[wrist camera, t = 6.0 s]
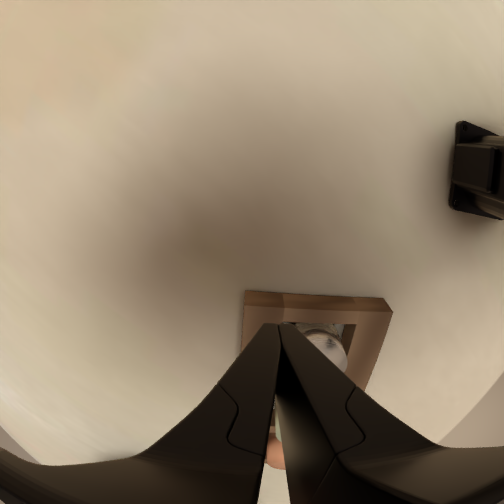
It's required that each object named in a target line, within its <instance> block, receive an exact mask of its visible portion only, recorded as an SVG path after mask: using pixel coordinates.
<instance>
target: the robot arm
mask: <svg viewBox="0 0 504 504" xmlns="http://www.w3.org/2000/svg"><path fill="white" fill-rule="evenodd" d="M463 126H464V130H463ZM455 200H456V205H454V202H455ZM449 206H450V208H452V209H454V210H457V211H462V212H467V213H472V214H476V215H481V216H485V217H489V218H494V219H498V220H504V136H499V135H496V134H494V133H492V132H490V131H488V130H485V129H483V128H481V127H478V126H476V125H474V124H471V123H469V122H466V121H459V122H458V124H457V134H456V147H455V157H454V166H453V175H452V184H451V191H450V197H449ZM274 399H276V406H277V413H278V420H279V427H280V434H281V441H282V448H283V455H284V462H285V469H286V476H287V483H288V490H289V497H290V504H504V446H500V447H483V448H450V447H444V446H441V445H438V444H436V443H433V442H432V441H430V440H428V439H427V438H425V437H424V436H422V435H421V434H419V433H418V432H416V431H415V430H414V429H412V428H411V427H409V426H408V425H406V424H405V423H403V422H402V421H401V420H399V419H398V418H396V417H395V416H394V415H392V414H391V413H390V412H388V411H387V410H386V409H384V408H383V407H382V406H380V405H379V404H378V403H377V402H376V401H374V400H373V399H372V398H371V397H370V396H369V395H367V394H366V393H365V392H364V391H363V390H362V389H361V388H360V387H359V386H357V385H356V384H355V383H354V382H353V381H352V380H351V379H350V378H349V377H348V376H347V375H346V374H345V373H344V372H342V371H341V370H340V369H339V368H338V367H337V366H336V365H335V364H334V363H333V362H332V361H331V360H330V359H329V358H328V357H326V356H325V355H324V354H323V353H322V352H321V351H320V350H319V349H318V348H317V347H316V346H315V345H314V344H313V343H312V342H311V341H310V340H309V339H308V338H306V337H305V336H304V335H303V334H302V333H301V332H300V331H299V330H298V329H297V328H296V327H295V326H294V325H293V324H284V323H280V324H278V325H277V324H276V323H263V324H262V326H261V327H260V328H259V330H258V331H257V332H256V334H255V335H254V336H253V338H252V339H251V340H250V341H249V343H248V344H247V345H246V347H245V348H244V349H243V351H242V352H241V353H240V355H239V356H238V357H237V358H236V360H235V361H234V362H233V364H232V365H231V366H230V367H229V369H228V370H227V371H226V373H225V374H224V375H223V376H222V378H221V379H220V380H219V381H218V383H217V384H216V385H215V386H214V388H213V389H212V390H211V391H210V393H209V394H208V395H207V396H206V397H205V398H204V399H203V400H202V402H201V403H200V404H199V405H198V406H197V407H196V408H195V409H194V410H193V411H192V412H190V413H189V414H188V415H187V416H186V417H185V418H184V419H183V420H182V421H180V422H179V423H178V424H177V425H176V426H175V427H173V428H172V429H171V430H170V431H169V432H168V433H166V434H165V435H164V436H163V437H162V438H160V439H159V440H158V441H157V442H156V443H154V444H153V445H152V446H150V447H149V448H148V449H146V450H145V451H143V452H141V453H139V454H137V455H135V456H132V457H129V458H124V459H117V460H111V461H103V462H95V463H86V464H76V465H62V466H48V465H41V464H35V463H32V462H28V461H26V460H23V459H21V458H19V457H17V456H16V455H14V454H12V453H10V452H9V451H7V450H5V449H3V448H1V447H0V500H1V501H3V502H4V503H5V504H257V502H258V497H259V491H260V485H261V479H262V473H263V468H264V462H265V456H266V450H267V444H268V438H269V432H270V426H271V419H272V413H273V406H274Z"/></svg>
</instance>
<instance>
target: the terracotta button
mask: <svg viewBox="0 0 504 504" xmlns="http://www.w3.org/2000/svg"><path fill="white" fill-rule="evenodd" d="M267 463H268V465H270V466H271V467H273V468H276V469H283V470H286V469H285V462H284V455H283V448H282V442H280V441H279V440H278V439H277V437H276V433H269V438H268V444H267Z"/></svg>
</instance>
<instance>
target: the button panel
mask: <svg viewBox="0 0 504 504" xmlns="http://www.w3.org/2000/svg"><path fill="white" fill-rule="evenodd" d="M392 314H393V311H392V310H391V308H390V307H389V305H388V304H387V303H386V301H385V300H384V299H383V298H362V297H339V296H319V295H301V294H285V293H270V292H256V291H246V292H245V302H244V315H243V329H242V343H241V352H242V351H243V349H244V348H245V347H246V345H247V344H248V343H249V341H250V340H251V339H252V338H253V336H254V335H255V334H256V332H257V331H258V330H259V328H260V327H261V326H262V324H263V323H276V324H277V325H278V324H280V323H283V322H301V323H327V324H345V328H344V332H343V336H342V339H341V343H342V346H343V348H344V351H345V354H346V357H347V368H346V370H345V372H344V373H345V374H346V375H347V376H348V377H349V378H350V379H351V380H352V381H353V382H354V383H355V384H356V385H357V386H359V387H360V388H361V389H362V390H363V391H365V388H366V386H367V383H368V381H369V379H370V376H371V374H372V371H373V368H374V366H375V363H376V361H377V358H378V355H379V352H380V350H381V347H382V344H383V341H384V338H385V335H386V333H387V330H388V326H389V323H390V320H391V317H392ZM269 433H276V428H275V410H273V413H272V419H271V426H270V432H269ZM264 463H267V450H266V456H265V462H264ZM267 464H268V463H267Z"/></svg>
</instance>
